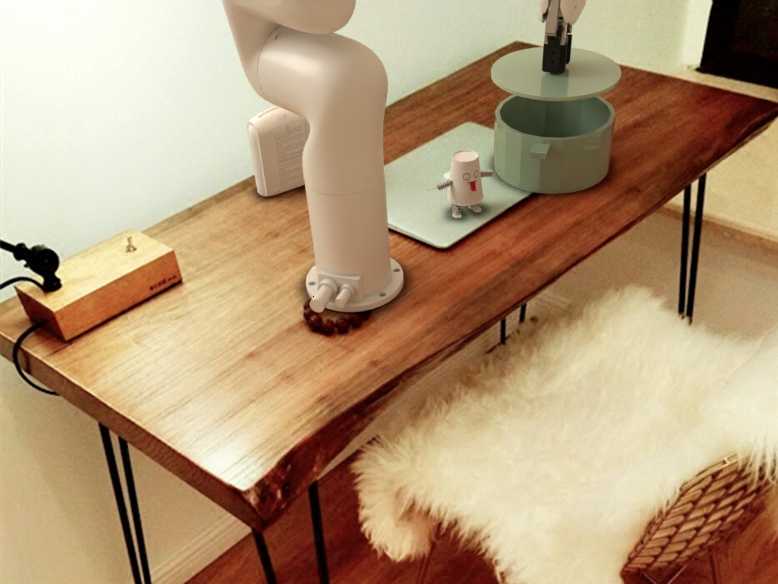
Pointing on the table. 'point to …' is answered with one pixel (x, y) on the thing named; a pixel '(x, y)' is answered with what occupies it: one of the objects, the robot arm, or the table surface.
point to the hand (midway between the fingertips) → (555, 66)
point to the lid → (556, 75)
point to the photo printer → (277, 149)
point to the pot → (553, 143)
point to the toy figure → (465, 181)
